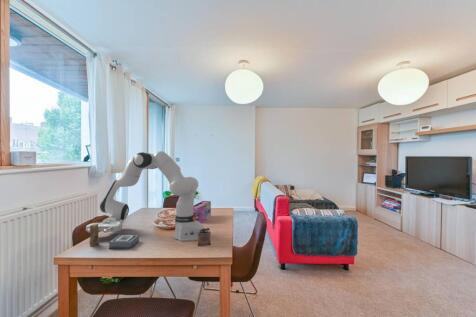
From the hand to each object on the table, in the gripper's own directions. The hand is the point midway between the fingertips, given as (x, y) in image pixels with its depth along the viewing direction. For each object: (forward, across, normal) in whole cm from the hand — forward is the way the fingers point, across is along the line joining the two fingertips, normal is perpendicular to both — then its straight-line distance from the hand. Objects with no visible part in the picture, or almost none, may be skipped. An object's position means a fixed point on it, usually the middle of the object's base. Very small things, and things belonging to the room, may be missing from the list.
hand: (96, 231), depth 140 cm
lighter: (+2, +65, +8) cm, 65 cm away
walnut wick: (+3, 0, +7) cm, 8 cm away
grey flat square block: (+3, +18, +7) cm, 20 cm away
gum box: (-55, +56, +8) cm, 78 cm away
